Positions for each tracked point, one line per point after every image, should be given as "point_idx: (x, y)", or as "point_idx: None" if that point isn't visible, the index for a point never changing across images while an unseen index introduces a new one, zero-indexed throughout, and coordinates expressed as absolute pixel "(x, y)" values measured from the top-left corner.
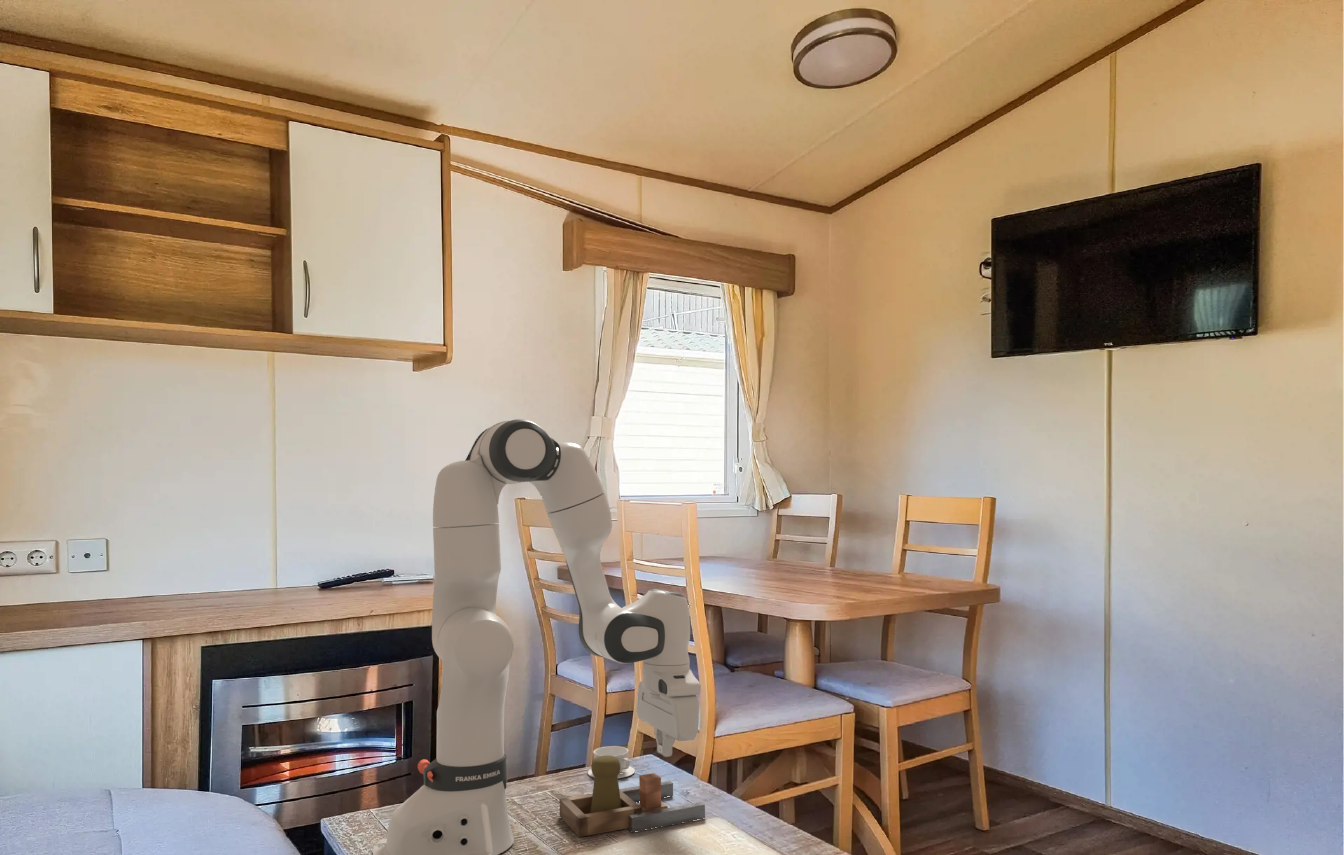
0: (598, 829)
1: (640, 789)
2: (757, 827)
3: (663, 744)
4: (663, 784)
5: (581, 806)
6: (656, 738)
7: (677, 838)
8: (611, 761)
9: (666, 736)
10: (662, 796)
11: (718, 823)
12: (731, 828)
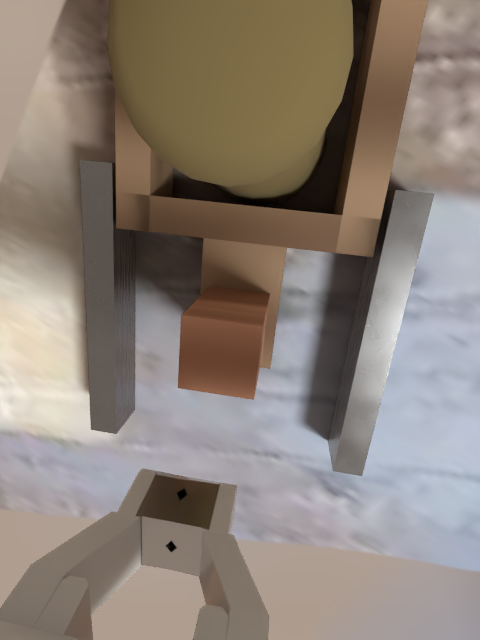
0: None
1: (256, 307)
2: (12, 466)
3: (103, 526)
4: (342, 440)
5: (368, 41)
6: (231, 565)
7: (17, 268)
8: (116, 45)
9: (15, 592)
10: (336, 412)
11: (72, 415)
12: (29, 419)
